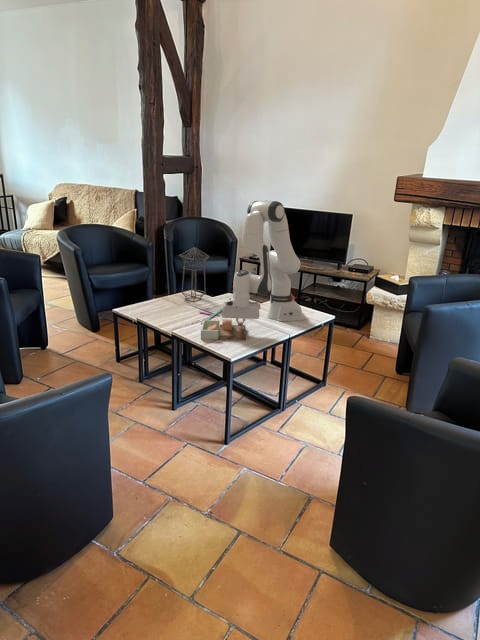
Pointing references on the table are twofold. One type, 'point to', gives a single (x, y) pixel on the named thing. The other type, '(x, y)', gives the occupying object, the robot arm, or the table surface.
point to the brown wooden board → (233, 333)
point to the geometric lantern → (193, 270)
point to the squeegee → (210, 314)
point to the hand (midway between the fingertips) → (240, 325)
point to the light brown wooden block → (227, 324)
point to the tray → (209, 333)
